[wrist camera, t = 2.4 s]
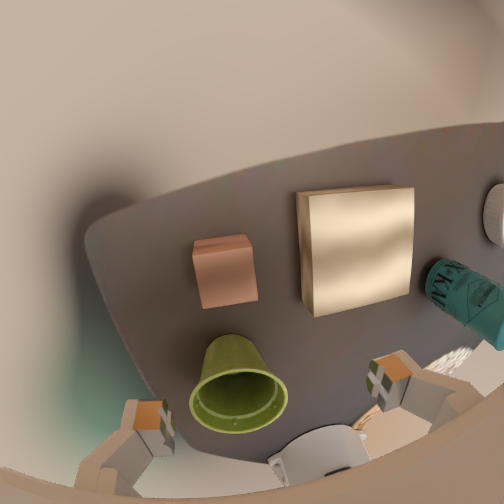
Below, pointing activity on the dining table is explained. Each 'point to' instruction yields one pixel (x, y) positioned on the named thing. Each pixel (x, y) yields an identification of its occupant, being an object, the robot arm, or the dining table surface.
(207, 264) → the terracotta cube
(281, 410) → the plant pot
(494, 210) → the ramekin
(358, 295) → the birch base
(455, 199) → the dining table surface
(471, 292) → the beverage bottle
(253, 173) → the dining table surface
